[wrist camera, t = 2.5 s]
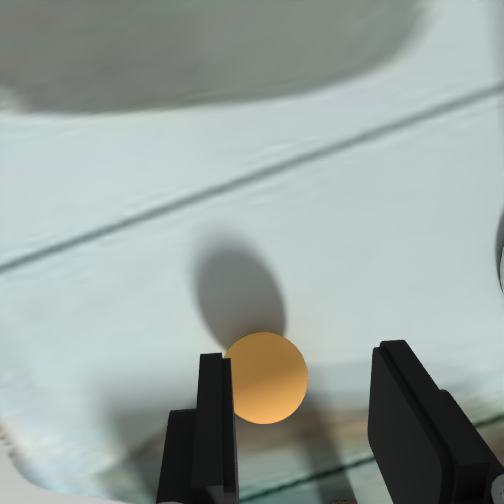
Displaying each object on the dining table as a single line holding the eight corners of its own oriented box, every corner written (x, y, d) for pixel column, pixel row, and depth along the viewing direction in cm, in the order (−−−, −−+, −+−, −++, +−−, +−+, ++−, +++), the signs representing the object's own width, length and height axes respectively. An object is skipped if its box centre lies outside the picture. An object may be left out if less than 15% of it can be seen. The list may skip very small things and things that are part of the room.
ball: (216, 319, 30) (215, 369, 25) (299, 313, 30) (316, 362, 25) (222, 388, 32) (222, 448, 27) (300, 382, 32) (315, 440, 27)
